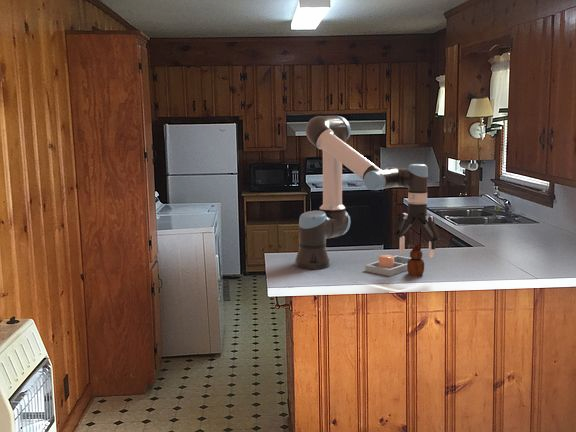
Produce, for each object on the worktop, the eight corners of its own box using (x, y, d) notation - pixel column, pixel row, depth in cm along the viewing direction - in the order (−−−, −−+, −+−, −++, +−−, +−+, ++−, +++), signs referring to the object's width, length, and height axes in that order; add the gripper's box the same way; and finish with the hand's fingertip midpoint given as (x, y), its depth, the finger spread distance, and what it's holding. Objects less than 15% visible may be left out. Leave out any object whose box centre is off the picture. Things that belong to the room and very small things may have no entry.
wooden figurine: (422, 274, 266) (423, 239, 263) (425, 278, 260) (426, 242, 258) (405, 275, 266) (406, 239, 263) (408, 278, 260) (409, 242, 257)
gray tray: (365, 273, 269) (365, 265, 268) (396, 263, 286) (396, 255, 285) (390, 278, 260) (390, 270, 260) (420, 267, 278) (420, 259, 277)
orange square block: (375, 270, 269) (375, 256, 268) (383, 267, 273) (384, 254, 272) (388, 273, 264) (388, 259, 263) (396, 270, 269) (397, 256, 268)
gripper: (386, 201, 263) (385, 251, 266) (440, 206, 246) (439, 260, 250) (396, 199, 268) (395, 248, 272) (450, 204, 252) (448, 257, 255)
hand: (416, 254), depth 261 cm, fingers open, 13 cm apart
